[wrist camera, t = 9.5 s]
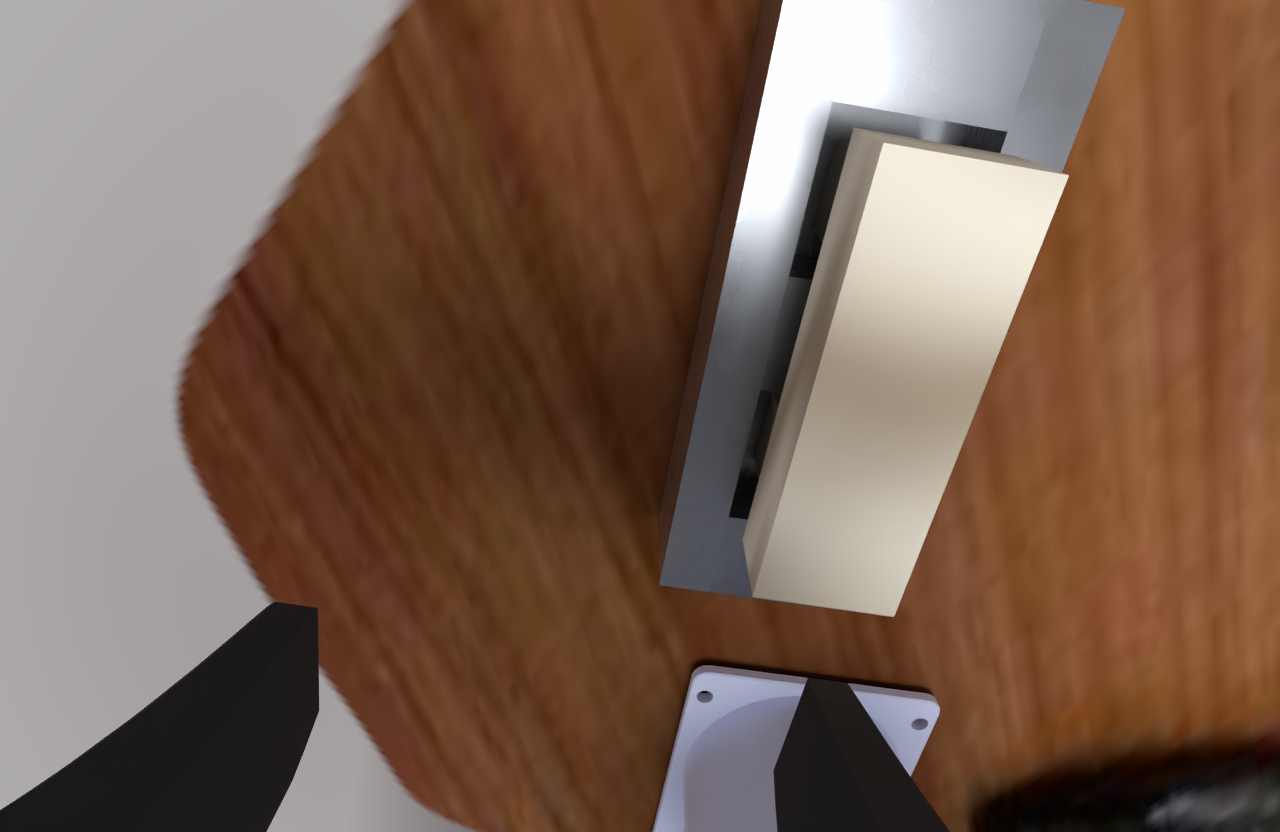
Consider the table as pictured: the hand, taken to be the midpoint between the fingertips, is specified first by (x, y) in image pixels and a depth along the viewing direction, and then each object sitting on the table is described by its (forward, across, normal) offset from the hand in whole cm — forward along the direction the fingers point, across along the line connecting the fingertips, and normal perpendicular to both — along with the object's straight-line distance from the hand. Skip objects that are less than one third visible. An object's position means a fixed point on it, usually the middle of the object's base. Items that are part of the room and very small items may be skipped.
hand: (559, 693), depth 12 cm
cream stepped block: (+9, -5, -3) cm, 11 cm away
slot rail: (+10, -5, -4) cm, 12 cm away
